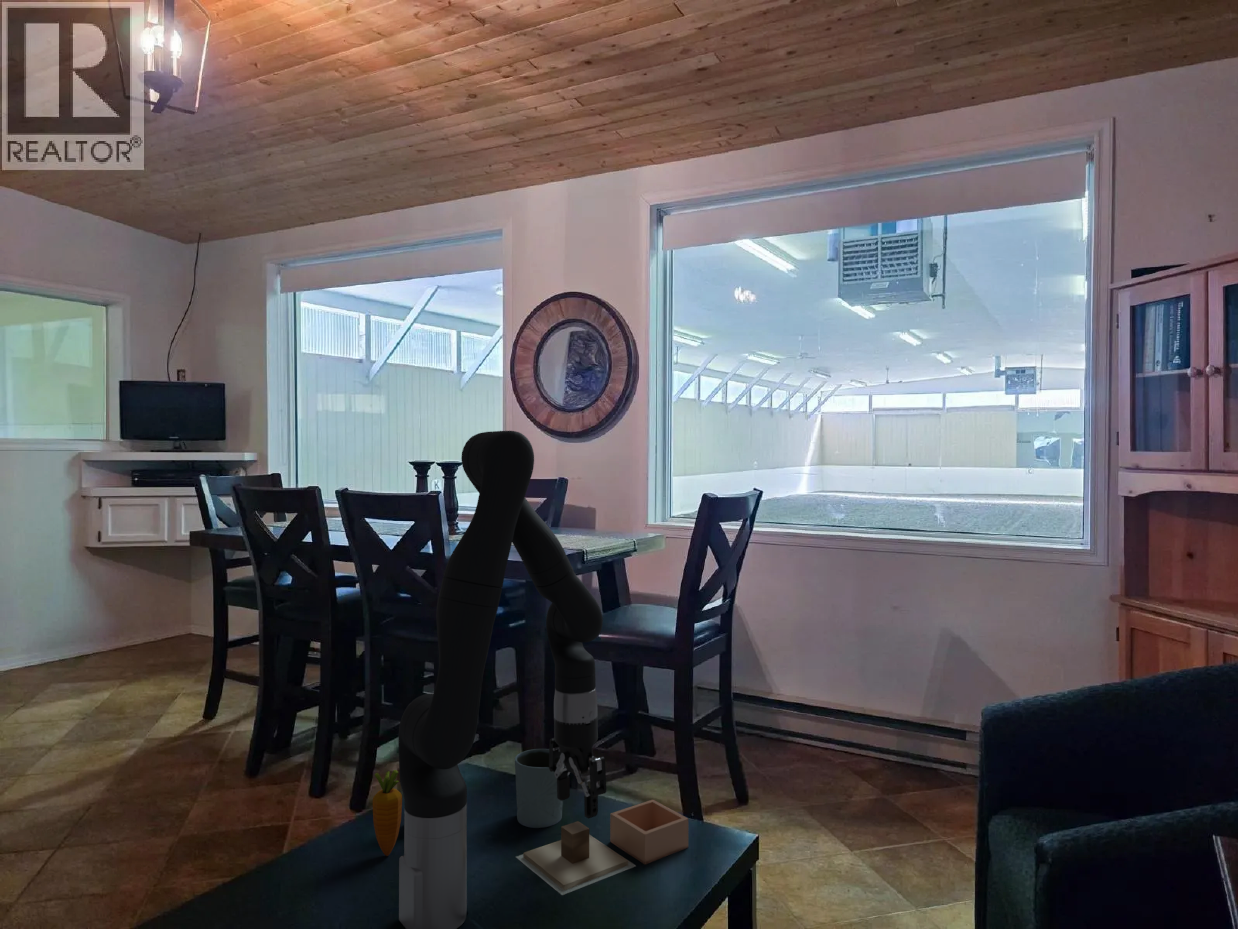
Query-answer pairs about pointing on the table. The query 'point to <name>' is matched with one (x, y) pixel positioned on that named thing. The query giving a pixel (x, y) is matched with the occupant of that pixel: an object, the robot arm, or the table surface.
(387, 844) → the carrot
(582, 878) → the lid
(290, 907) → the table surface
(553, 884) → the tray
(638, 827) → the open square box
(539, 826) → the grey cup
